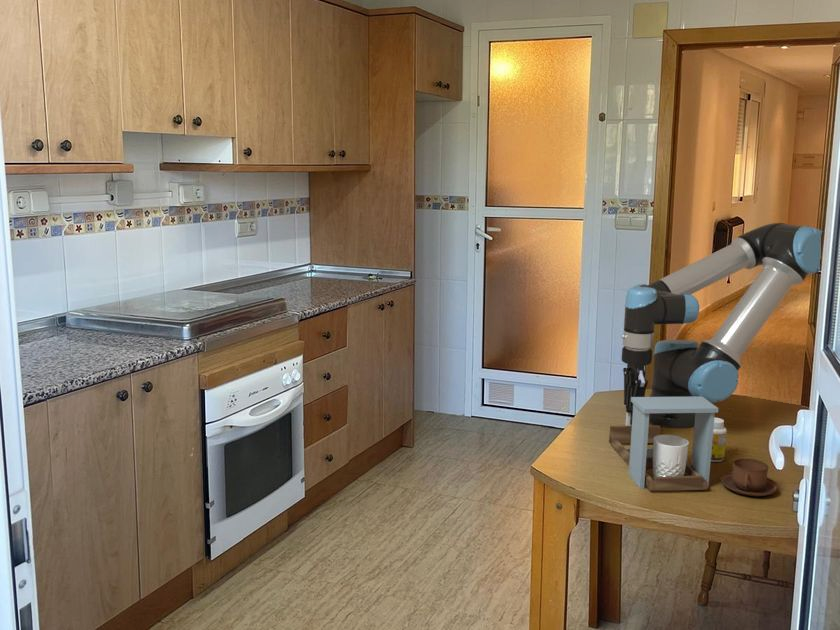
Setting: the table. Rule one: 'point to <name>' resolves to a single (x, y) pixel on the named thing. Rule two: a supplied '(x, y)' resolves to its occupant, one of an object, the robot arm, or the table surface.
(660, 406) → the tunnel
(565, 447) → the table surface
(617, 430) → the wooden serving tray
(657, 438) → the white cup
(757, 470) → the cup and saucer
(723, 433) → the supplement bottle
